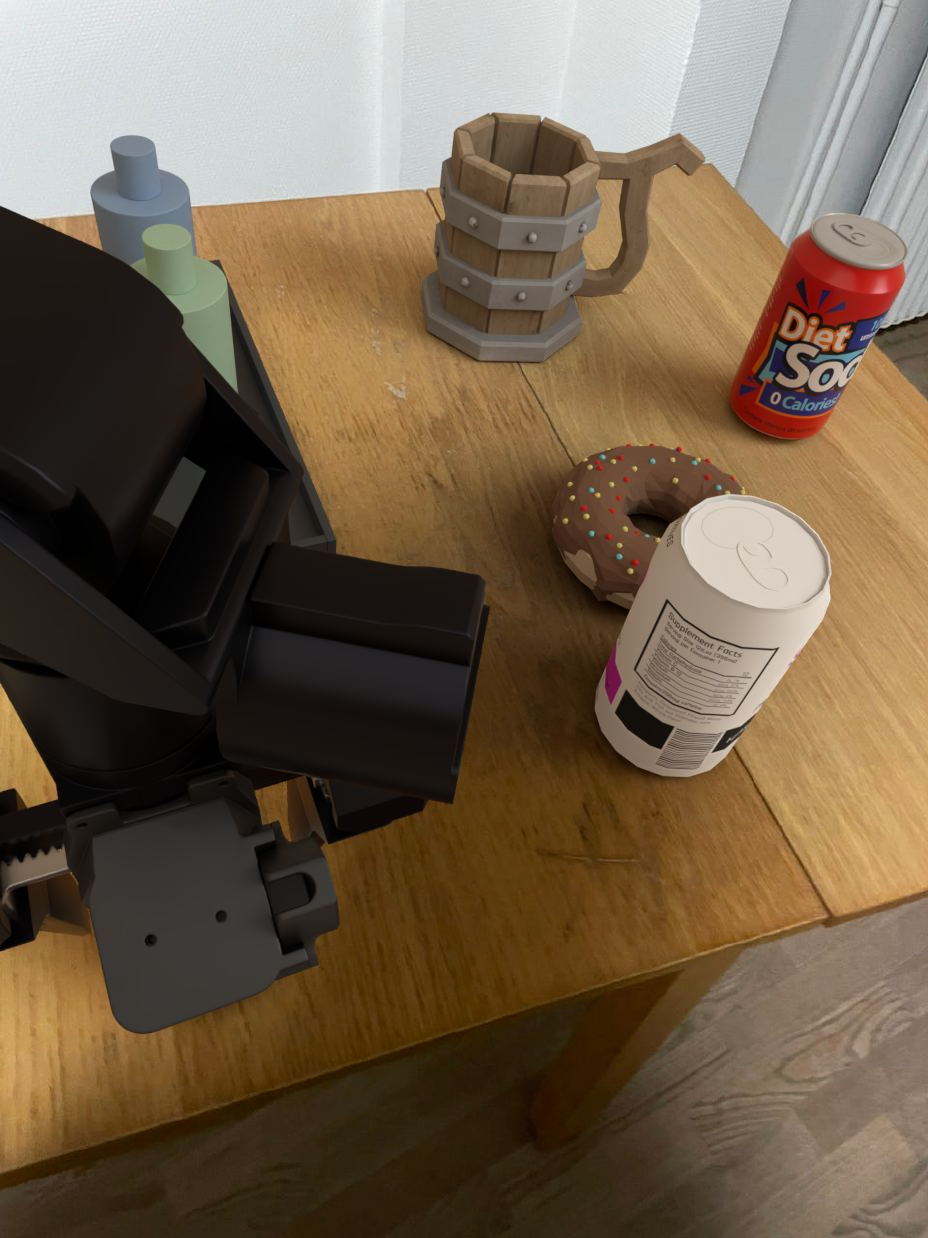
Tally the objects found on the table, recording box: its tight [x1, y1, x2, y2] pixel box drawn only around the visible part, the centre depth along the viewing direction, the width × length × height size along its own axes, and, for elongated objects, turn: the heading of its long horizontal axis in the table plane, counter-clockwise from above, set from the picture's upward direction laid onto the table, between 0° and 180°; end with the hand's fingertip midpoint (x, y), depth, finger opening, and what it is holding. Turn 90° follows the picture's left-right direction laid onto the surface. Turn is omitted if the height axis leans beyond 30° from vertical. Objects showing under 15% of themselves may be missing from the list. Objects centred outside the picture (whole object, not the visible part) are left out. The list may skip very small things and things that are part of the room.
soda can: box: [728, 212, 908, 440], centre depth 66 cm, size 8×8×15 cm
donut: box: [547, 443, 747, 610], centre depth 59 cm, size 14×14×5 cm
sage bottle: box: [130, 224, 238, 393], centre depth 58 cm, size 6×6×13 cm
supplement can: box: [594, 494, 832, 778], centre depth 47 cm, size 8×8×15 cm
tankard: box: [420, 111, 706, 363], centre depth 70 cm, size 20×13×15 cm, turn 97°
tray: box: [153, 259, 337, 553], centre depth 63 cm, size 11×31×2 cm, turn 22°
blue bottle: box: [89, 134, 198, 265], centre depth 64 cm, size 6×6×13 cm
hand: (196, 887), depth 39 cm, fingers open, 9 cm apart
